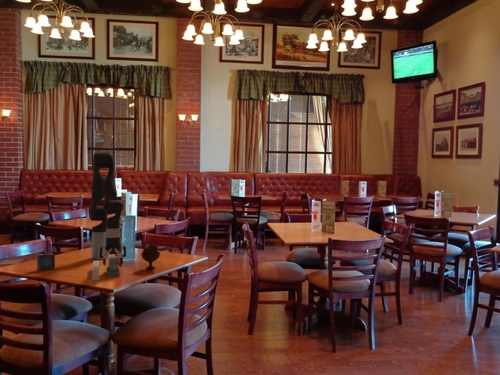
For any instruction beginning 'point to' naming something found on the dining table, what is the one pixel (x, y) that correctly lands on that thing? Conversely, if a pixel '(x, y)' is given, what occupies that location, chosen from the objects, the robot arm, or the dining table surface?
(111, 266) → the block
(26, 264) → the dining table surface
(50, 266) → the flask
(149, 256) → the ice cream bowl
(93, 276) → the door board
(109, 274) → the cradle
